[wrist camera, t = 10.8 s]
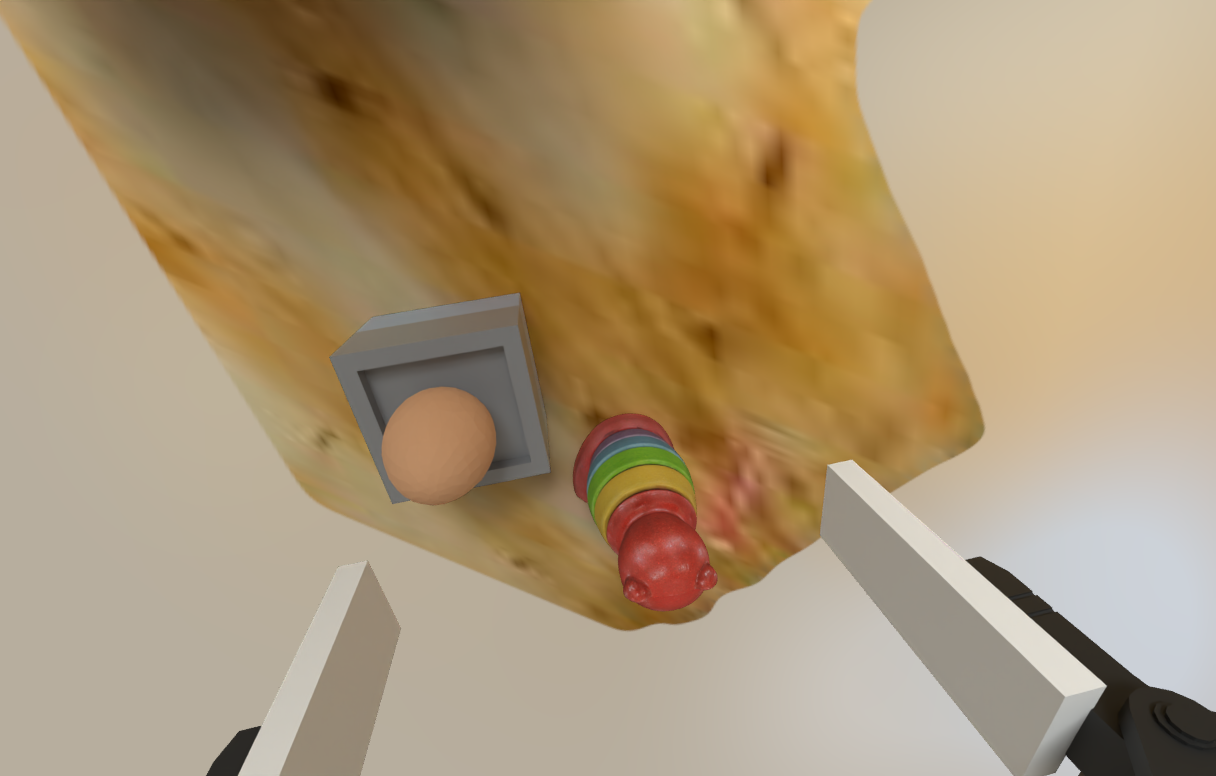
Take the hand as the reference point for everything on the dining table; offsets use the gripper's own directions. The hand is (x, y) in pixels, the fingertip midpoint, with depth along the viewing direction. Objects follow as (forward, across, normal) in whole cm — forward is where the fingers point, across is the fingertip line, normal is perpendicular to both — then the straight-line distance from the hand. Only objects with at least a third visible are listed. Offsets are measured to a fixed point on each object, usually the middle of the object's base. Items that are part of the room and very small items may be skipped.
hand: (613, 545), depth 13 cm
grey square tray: (+29, -9, -5) cm, 30 cm away
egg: (+21, -9, -5) cm, 23 cm away
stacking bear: (+29, +4, -17) cm, 34 cm away
